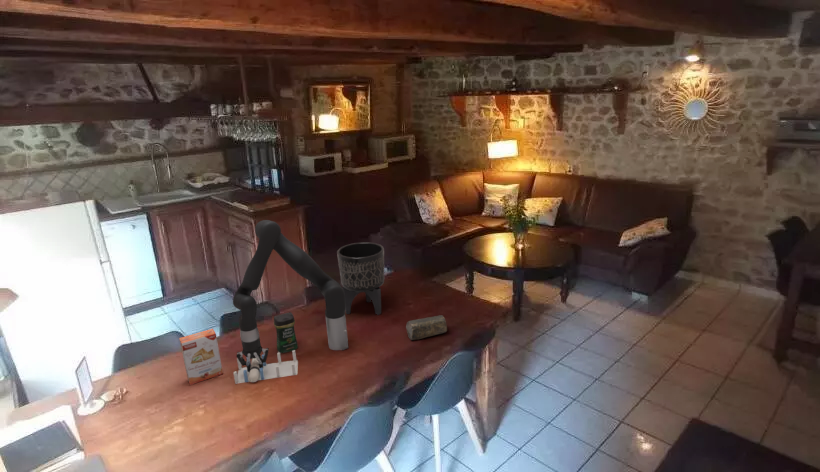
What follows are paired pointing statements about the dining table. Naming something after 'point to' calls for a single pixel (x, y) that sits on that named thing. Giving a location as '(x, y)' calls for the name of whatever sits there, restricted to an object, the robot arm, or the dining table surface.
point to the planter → (362, 272)
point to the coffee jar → (285, 332)
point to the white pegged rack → (269, 370)
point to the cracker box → (201, 356)
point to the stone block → (426, 327)
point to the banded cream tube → (254, 370)
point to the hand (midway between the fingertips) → (255, 371)
